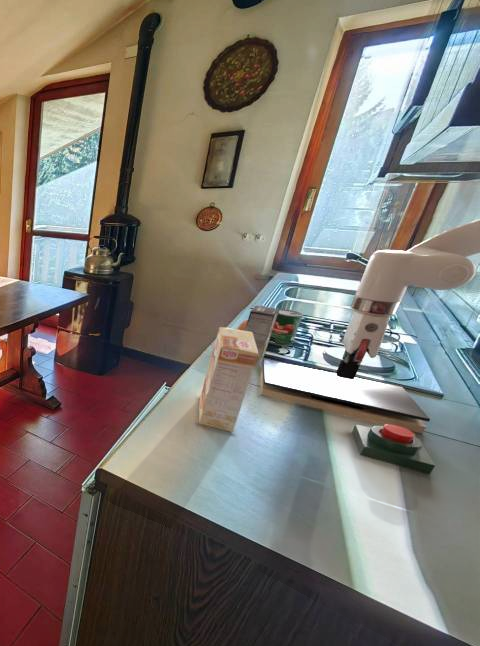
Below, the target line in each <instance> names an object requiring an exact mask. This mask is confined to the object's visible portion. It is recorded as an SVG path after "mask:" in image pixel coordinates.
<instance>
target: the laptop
mask: <svg viewBox="0 0 480 646" xmlns="http://www.w3.org/2000/svg"><path fill="white" fill-rule="evenodd" d="M259 388H260V389H259V390H260V391H259V392H260V396H264V397H268V398H273V399H277V400H281V401H284V402H288V403H293V404H298V405H302V406H306V407H310V408H314V409H318V410H323V411H326V412H330V413H334V414H339V415H343V416H348V417H351V418H356V419H359V420H364V421H367V422H373V423H375V424H376V423H377V424H380V425H387V424H390V425H396V426H400V427H403V428H405V429H408V430H410V431H411V432H413V433H419V434H424V432H425V430H426V428H427V426H426V425H425V423H424V422H423V420H419V419H415V418H410V417H406V416H401V415H397V414H393V413H388V412H384V411H379V410H375V409H371V408H366V407H362V406H357V405H353V404H349V403H344V402H340V401H335V400H331V399H327V398H322V397H318V396H314V395H309V394H305V393H300V392H296V391H292V390H287V389H283V388H278V387H274V386H270V385H265V384H264V374H263V361H262V362H261V365H260V386H259Z"/></svg>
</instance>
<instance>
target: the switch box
mask: <svg viewBox="0 0 480 646" xmlns="http://www.w3.org/2000/svg"><path fill="white" fill-rule="evenodd" d="M383 427H384V425H374V426H372V427H369V426H366V425H360V424H357V423H356V424H355V425H354V427H353V429H352V431H351V434H352V436H353V440H354V442H355V445H356V448H357V450H358V453H359V456H361V457H365V458H368V459H372V460H377V461H380V462H383V463H387V464H390V465H394V466H398V467H402V468H404V469H409V470H411V471H416V472H419V473H423V474H427V475H431V473H432V472H433V470H434V469H435V468H436V464H435V463H434V462H433V460H432V458H431V456H430V455H429V453H428V452H427V450H426V448H425V446H424V443H423V442H422V441H421V439H419V438H418V437H416V436H414V438H413V440H412V441H411V443H401V442H397V441H394V440H392V439H389V438H387V437H385V436H383V435H382V434H381V431H382V429H383Z"/></svg>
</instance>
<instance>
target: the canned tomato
mask: <svg viewBox="0 0 480 646" xmlns="http://www.w3.org/2000/svg"><path fill="white" fill-rule="evenodd" d="M279 309H280V310H279V313H278V315H277V318H276V321H275V324H274V327H273V330H272V333H271V336H270V339H269V340H270V341H273V342H275V343H276V344H275V343H271V342H268V344H271V345H274V346H280V347H291V346H293V343H294V341H295V338H296V335H297V332H298V329H299V327H300V324H301V321H302V319H303V317H304V313H302V312H300V311H296V310H293V309H292V310H291V309H285V308H279Z"/></svg>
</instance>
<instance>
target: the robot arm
mask: <svg viewBox="0 0 480 646" xmlns="http://www.w3.org/2000/svg"><path fill="white" fill-rule="evenodd" d="M477 254H480V219H476V220H473V221H470V222H467V223H464V224H461V225H458V226H455V227H453V228H450V229H447V230H445V231H443V232H440V233H439V234H436V235H434V236H432V237H430V238H428V239H426V240H424V241H422V242H420V243H418V244H416V245H414V246H412V247H411V248H409V249H408V250H406V251H405V250H395V249H382V250H376V251H375V252H373V253H372V254H371V255H370V257H369V259H368V262H367V264H366V266H365V269H364V273H363V274H362V276H361V279H360V281H359V285H358V287H357V290H356V292H355V295H354V297H353V300H352V302H351V305H350V307H349V310H350V311H352V312H353V314H352V316H351V319H350V320H349V323H348V326H347V328H346V329H345V333H344V336H343V339H342V345H343V347H344V349H345V351H344V353H343V355H342V358H341V359H340V362H339V365H338V367H337V369H336V371H335V374H336V375H337V377H341V378H346V379H351V380H353V379H354V378H356V375H357V373H358V371H359V368H360V366H361V364H362V363H363V360H364V357H365V355H366V353H367V354H368V356H369V357H370V358H371V359H374V358H376V357H377V355H378V353H379V350H380V347H381V346H382V342H383V340H384V337H385V335H386V332H387V328H388V324H389V321H390V318H391V317H395V315H396V314H397V311H398V310H399V307H400V306H401V305H400V304H401V302H402V300H403V297H404V295H405V293H406V291H407V288H408V287H417V288H423V289H428V290H434V291H447V290H448V291H449V290H453V289H454V290H455V289H457V288H461V287H463V286H465V285H466V284H468V283H469V282H470V281H471V280H472V279H473V278H474V277H475V275H476V271H477V270H476V265H475V263H474V262H473V261H472V260H471V259H470V258H468V257H470V256H474V255H477Z"/></svg>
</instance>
